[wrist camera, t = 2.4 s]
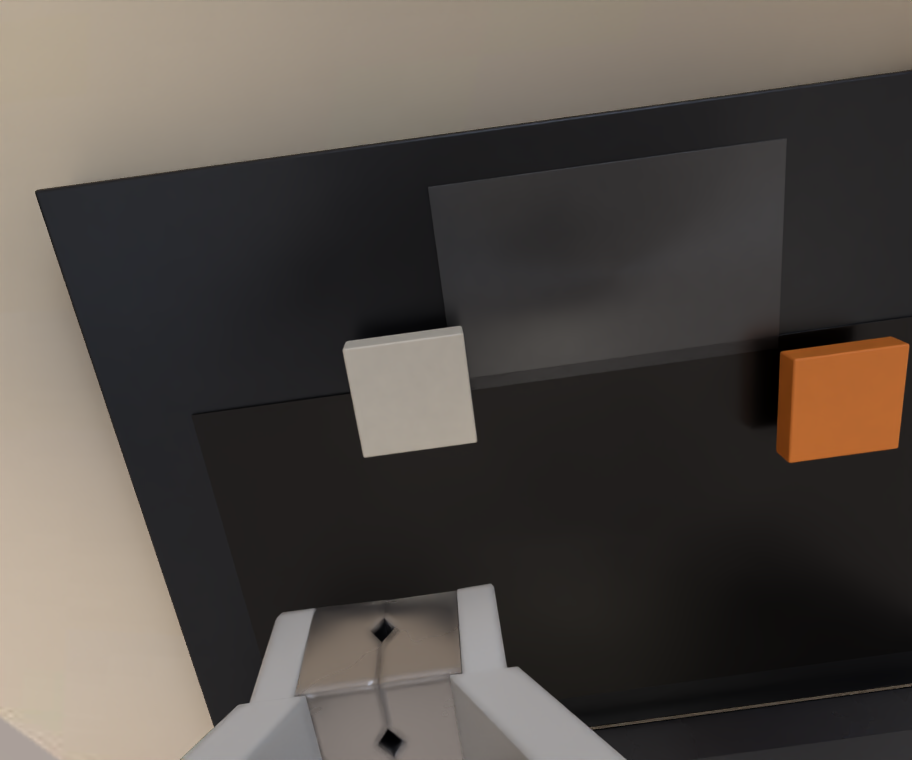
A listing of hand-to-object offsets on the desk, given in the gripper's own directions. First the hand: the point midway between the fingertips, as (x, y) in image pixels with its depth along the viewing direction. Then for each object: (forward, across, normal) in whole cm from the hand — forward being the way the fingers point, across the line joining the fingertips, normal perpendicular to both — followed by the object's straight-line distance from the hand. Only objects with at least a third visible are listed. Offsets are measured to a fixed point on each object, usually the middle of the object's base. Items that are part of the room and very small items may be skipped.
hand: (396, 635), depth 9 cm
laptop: (+13, -6, +4) cm, 15 cm away
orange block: (+11, -12, +2) cm, 16 cm away
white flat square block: (+11, 0, 0) cm, 11 cm away
